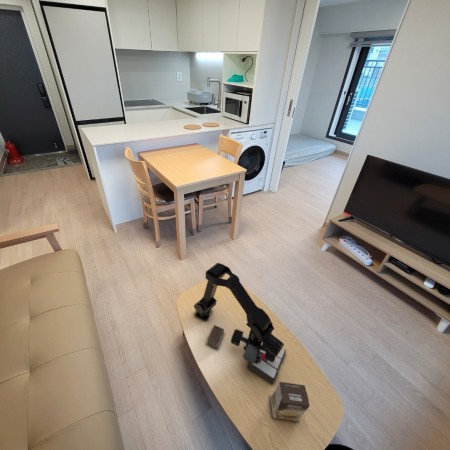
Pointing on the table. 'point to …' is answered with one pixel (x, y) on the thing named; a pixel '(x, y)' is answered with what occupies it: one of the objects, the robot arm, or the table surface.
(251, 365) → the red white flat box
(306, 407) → the coffee box
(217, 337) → the walnut block
